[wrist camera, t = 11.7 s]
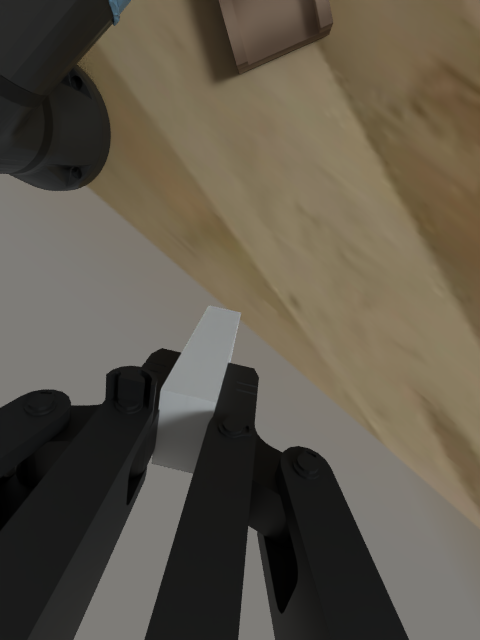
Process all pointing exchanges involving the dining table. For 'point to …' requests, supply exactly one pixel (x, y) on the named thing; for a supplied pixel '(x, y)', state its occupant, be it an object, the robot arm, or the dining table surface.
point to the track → (273, 27)
